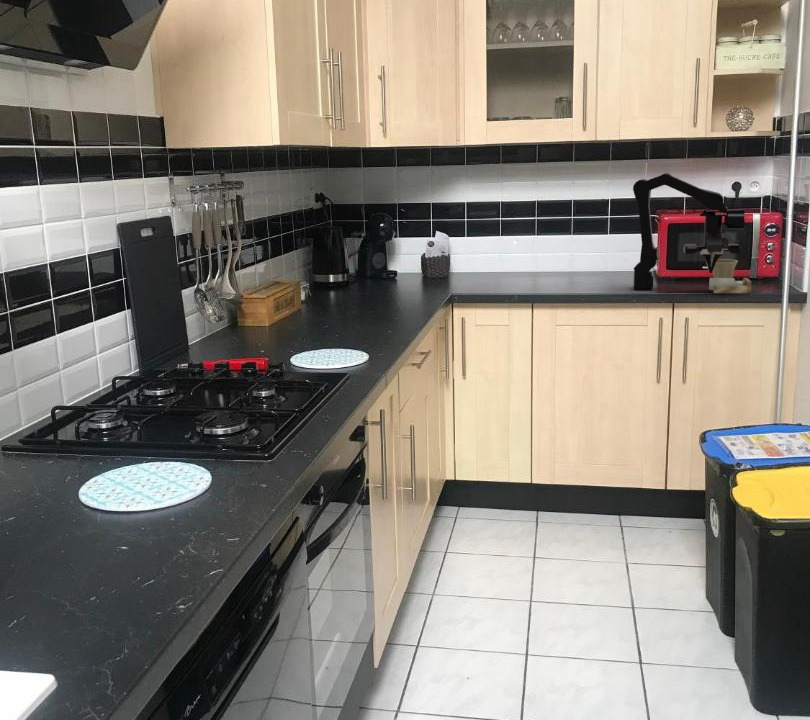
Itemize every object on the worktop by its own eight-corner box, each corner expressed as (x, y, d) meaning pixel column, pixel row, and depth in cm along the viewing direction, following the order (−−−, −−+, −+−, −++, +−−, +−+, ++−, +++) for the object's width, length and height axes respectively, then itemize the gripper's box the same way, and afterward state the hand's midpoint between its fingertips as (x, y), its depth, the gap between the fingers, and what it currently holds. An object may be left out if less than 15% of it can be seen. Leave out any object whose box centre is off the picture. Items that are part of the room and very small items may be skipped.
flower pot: (732, 281, 318) (733, 258, 316) (739, 285, 309) (741, 262, 306) (706, 281, 319) (708, 259, 316) (713, 285, 310) (714, 262, 307)
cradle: (714, 293, 296) (714, 281, 295) (710, 288, 304) (711, 277, 303) (750, 293, 293) (751, 281, 292) (746, 288, 301) (746, 277, 300)
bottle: (711, 278, 297) (745, 278, 294) (709, 277, 301) (743, 277, 299) (710, 290, 298) (744, 291, 295) (708, 289, 302) (742, 289, 300)
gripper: (688, 231, 289) (685, 276, 293) (745, 231, 285) (742, 276, 289) (684, 228, 299) (682, 271, 303) (739, 227, 295) (736, 271, 299)
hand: (710, 272), depth 298 cm, fingers closed
